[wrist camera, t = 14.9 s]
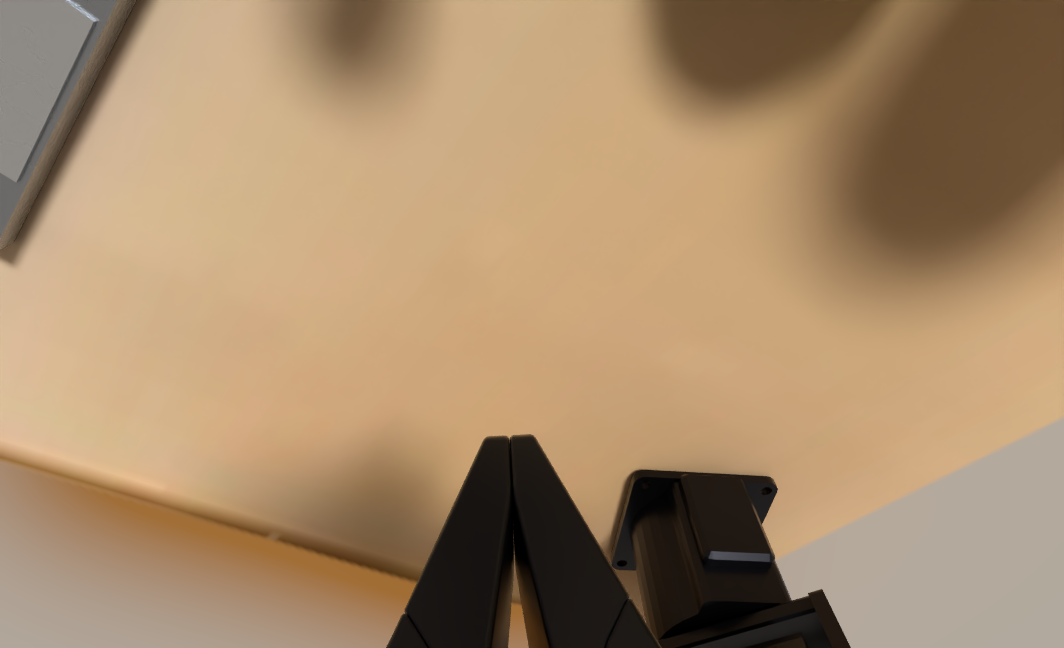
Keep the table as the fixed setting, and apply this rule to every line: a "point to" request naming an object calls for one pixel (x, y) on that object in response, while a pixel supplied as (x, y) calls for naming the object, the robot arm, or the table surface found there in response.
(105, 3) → the rail
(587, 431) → the table surface
